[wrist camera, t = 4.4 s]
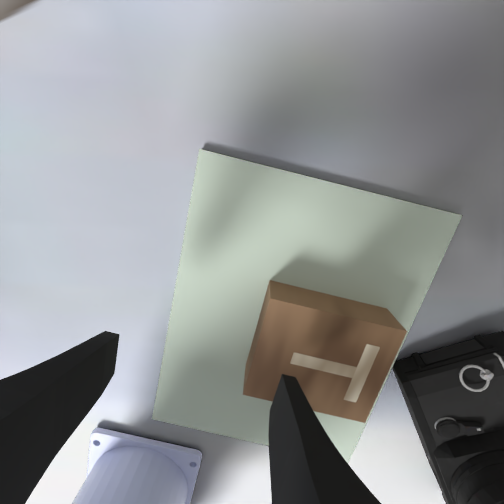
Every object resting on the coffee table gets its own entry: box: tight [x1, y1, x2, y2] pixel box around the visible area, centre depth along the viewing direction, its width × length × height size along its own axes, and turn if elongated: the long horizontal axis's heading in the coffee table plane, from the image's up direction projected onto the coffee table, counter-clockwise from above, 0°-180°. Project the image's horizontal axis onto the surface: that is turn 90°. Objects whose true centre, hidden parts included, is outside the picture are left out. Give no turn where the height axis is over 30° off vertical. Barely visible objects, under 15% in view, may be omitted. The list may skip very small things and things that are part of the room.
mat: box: [152, 149, 462, 463], centre depth 17 cm, size 18×14×1 cm
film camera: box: [392, 331, 504, 504], centre depth 16 cm, size 13×8×10 cm
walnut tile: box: [243, 280, 407, 423], centre depth 16 cm, size 6×2×7 cm
